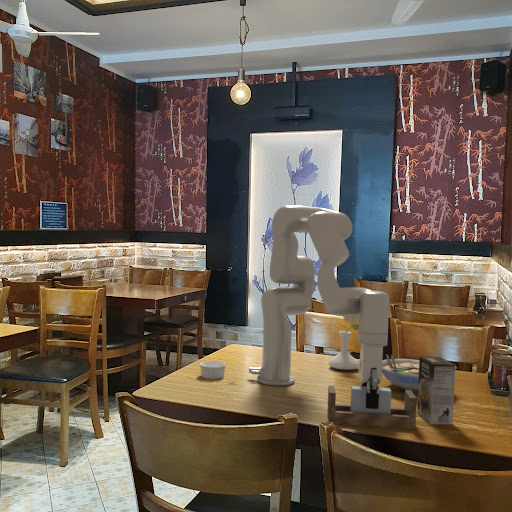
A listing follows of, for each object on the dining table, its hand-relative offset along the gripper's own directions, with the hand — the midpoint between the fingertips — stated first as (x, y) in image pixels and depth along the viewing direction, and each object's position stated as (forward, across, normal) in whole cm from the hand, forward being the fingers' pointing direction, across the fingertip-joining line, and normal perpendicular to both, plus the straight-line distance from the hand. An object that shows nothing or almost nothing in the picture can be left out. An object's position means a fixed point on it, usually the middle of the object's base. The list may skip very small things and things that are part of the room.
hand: (369, 402), depth 133 cm
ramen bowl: (+6, -35, +18) cm, 40 cm away
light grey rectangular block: (+4, 0, 0) cm, 4 cm away
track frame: (+5, 0, 0) cm, 5 cm away
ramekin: (+6, -36, -49) cm, 61 cm away
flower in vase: (+6, -57, -2) cm, 57 cm away
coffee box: (+5, -6, +18) cm, 20 cm away
